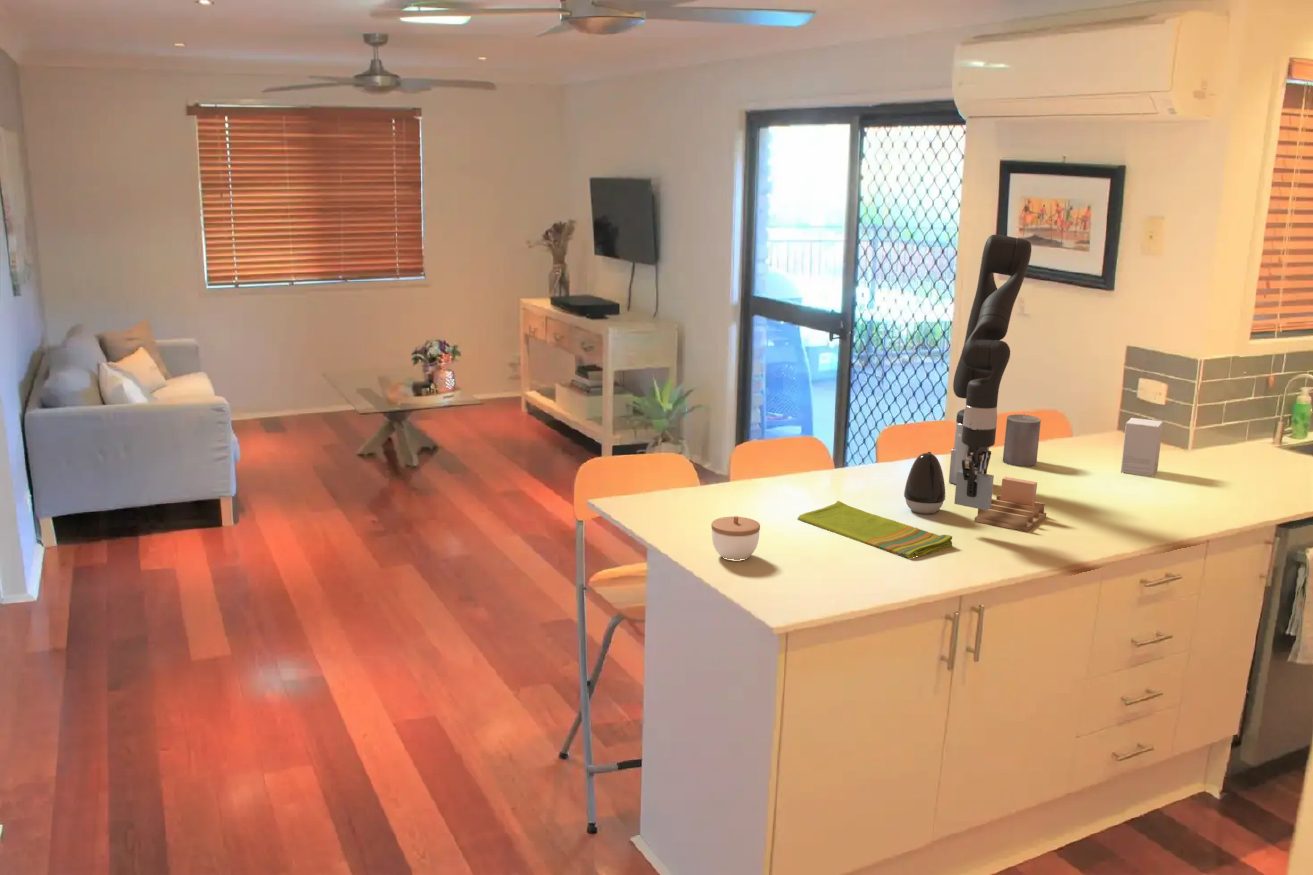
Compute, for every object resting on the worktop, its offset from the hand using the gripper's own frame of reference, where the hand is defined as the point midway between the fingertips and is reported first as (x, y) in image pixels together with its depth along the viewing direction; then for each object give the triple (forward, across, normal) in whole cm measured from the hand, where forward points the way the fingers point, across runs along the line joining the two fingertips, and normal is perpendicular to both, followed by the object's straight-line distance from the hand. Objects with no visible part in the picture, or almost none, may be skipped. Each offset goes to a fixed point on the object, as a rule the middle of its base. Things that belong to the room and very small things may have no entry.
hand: (973, 494), depth 259 cm
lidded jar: (+10, +49, -36) cm, 62 cm away
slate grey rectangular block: (-1, 0, 0) cm, 1 cm away
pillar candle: (+10, -74, -12) cm, 75 cm away
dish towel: (+10, +14, -19) cm, 26 cm away
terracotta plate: (+5, -21, +4) cm, 22 cm away
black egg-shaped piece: (+10, -10, -16) cm, 21 cm away
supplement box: (+10, -86, +19) cm, 89 cm away
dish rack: (+10, -17, +4) cm, 20 cm away
